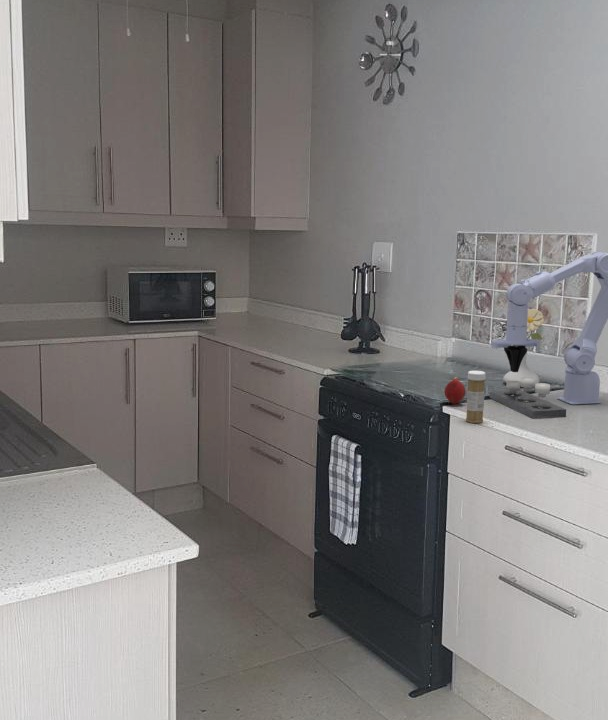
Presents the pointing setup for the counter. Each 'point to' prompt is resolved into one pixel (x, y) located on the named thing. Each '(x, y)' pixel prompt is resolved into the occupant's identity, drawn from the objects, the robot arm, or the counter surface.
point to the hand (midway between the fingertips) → (514, 371)
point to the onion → (455, 391)
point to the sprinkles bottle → (475, 396)
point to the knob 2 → (542, 389)
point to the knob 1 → (513, 386)
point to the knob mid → (527, 383)
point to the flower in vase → (532, 324)
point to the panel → (528, 404)
